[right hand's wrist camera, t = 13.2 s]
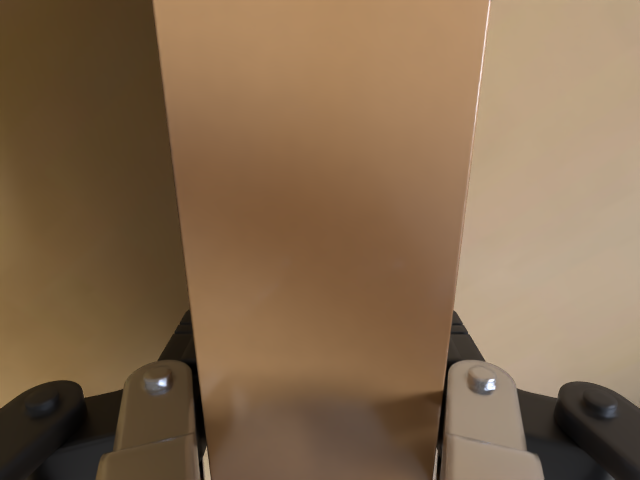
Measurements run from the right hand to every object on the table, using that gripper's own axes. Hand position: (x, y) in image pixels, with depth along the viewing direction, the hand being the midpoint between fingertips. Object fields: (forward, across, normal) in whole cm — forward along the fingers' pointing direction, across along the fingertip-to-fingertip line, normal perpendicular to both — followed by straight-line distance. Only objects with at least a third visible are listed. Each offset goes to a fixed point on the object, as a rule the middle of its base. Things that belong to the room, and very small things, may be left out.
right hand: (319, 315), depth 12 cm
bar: (+3, 0, -26) cm, 26 cm away
